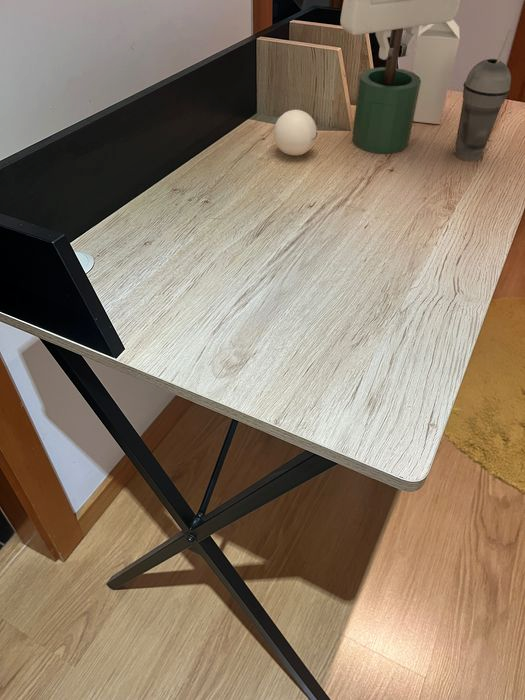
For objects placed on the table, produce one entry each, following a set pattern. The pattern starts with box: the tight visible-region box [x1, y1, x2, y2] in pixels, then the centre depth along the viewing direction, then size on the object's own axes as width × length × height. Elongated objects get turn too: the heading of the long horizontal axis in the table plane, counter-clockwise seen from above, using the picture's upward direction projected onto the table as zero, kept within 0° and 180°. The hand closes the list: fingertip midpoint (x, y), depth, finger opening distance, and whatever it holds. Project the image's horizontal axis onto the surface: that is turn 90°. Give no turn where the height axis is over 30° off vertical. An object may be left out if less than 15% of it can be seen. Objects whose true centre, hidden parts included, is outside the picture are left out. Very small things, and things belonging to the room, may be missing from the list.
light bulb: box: [273, 109, 318, 157], centre depth 98 cm, size 10×7×7 cm
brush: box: [383, 28, 404, 86], centre depth 94 cm, size 4×4×19 cm
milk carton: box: [410, 18, 461, 125], centre depth 105 cm, size 7×7×19 cm
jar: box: [351, 66, 421, 155], centre depth 99 cm, size 10×10×11 cm
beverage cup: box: [454, 29, 513, 162], centre depth 93 cm, size 7×7×20 cm
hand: (393, 57), depth 93 cm, fingers closed on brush, 2 cm apart
